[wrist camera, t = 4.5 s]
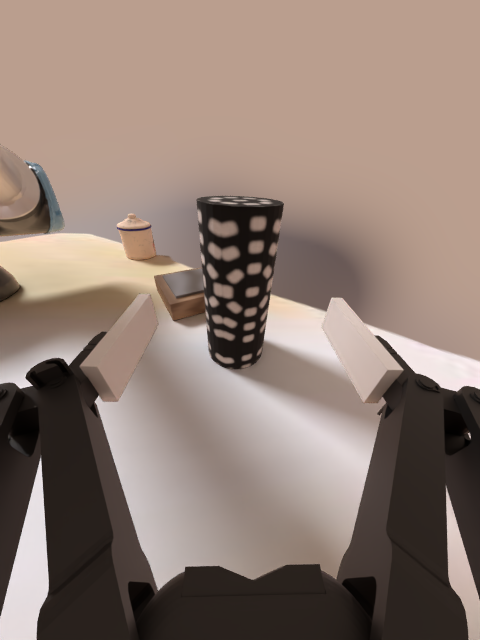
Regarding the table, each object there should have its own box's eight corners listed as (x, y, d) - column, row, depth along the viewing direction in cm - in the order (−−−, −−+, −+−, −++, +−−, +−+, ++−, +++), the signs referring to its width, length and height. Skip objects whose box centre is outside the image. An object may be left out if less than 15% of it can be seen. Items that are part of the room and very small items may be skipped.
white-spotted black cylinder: (218, 376, 27) (210, 207, 15) (202, 337, 33) (188, 195, 21) (271, 359, 29) (301, 206, 17) (248, 326, 35) (259, 196, 23)
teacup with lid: (162, 255, 63) (155, 214, 56) (135, 262, 57) (122, 218, 50) (143, 247, 69) (133, 209, 62) (116, 253, 63) (102, 212, 56)
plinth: (173, 320, 36) (169, 302, 34) (157, 290, 45) (153, 273, 42) (235, 303, 42) (235, 286, 39) (210, 279, 50) (209, 264, 48)
